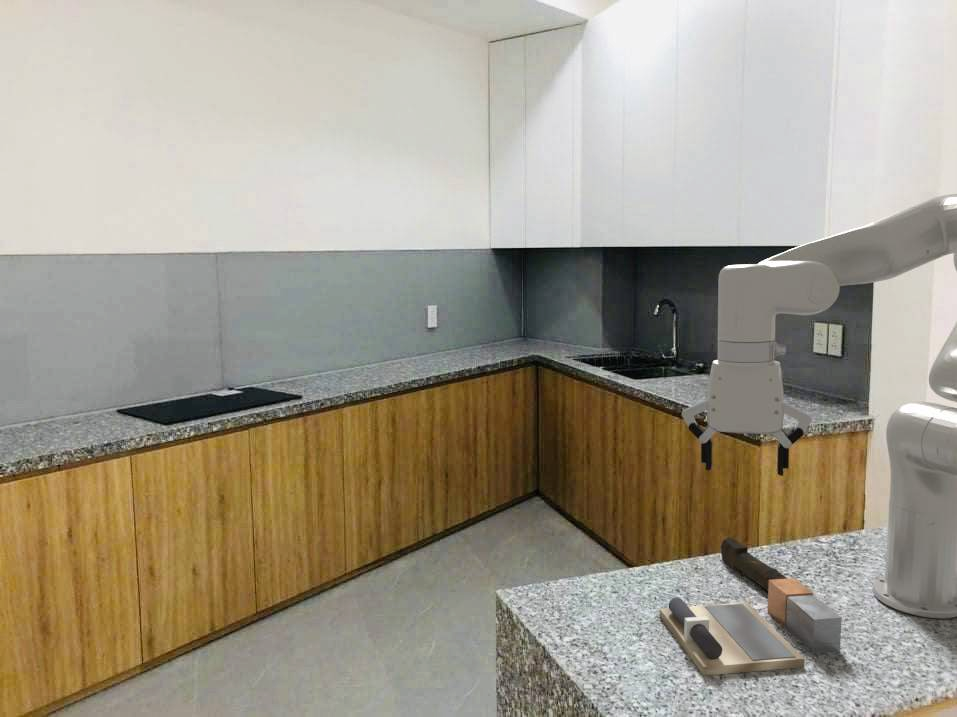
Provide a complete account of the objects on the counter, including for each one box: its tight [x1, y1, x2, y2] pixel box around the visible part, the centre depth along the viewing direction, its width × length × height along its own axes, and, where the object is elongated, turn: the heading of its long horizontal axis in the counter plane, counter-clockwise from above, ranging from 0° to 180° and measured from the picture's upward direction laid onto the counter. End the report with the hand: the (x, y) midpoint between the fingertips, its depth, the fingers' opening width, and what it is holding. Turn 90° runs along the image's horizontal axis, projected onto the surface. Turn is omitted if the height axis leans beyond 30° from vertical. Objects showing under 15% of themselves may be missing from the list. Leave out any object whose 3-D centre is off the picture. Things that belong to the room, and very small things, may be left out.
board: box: [659, 602, 806, 676], centre depth 102 cm, size 14×16×1 cm
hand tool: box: [720, 537, 789, 591], centre depth 121 cm, size 19×4×5 cm, turn 12°
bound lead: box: [668, 596, 722, 660], centre depth 101 cm, size 3×13×3 cm, turn 6°
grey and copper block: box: [767, 577, 843, 654], centre depth 104 cm, size 4×12×5 cm, turn 6°
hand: (743, 470), depth 102 cm, fingers open, 9 cm apart
